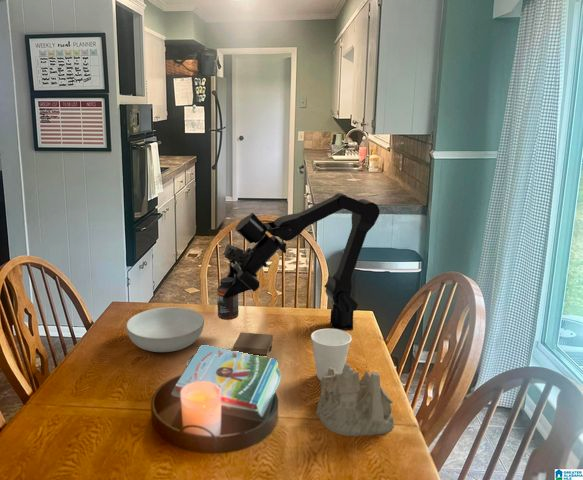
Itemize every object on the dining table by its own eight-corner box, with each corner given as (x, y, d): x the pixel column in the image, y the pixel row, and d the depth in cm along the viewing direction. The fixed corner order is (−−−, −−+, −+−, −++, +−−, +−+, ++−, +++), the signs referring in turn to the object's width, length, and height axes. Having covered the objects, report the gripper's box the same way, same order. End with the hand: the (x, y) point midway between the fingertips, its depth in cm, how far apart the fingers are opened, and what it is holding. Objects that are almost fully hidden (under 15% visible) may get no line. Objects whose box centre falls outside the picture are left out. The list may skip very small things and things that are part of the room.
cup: (354, 373, 131) (357, 333, 129) (341, 392, 123) (343, 349, 120) (318, 364, 135) (319, 325, 133) (302, 382, 127) (304, 340, 124)
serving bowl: (111, 352, 139) (109, 328, 138) (158, 323, 158) (157, 302, 157) (176, 368, 132) (175, 343, 130) (218, 336, 151) (218, 314, 149)
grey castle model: (398, 436, 106) (400, 367, 103) (318, 438, 106) (317, 368, 103) (385, 399, 121) (386, 338, 119) (314, 400, 121) (314, 339, 119)
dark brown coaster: (272, 348, 144) (272, 334, 143) (266, 363, 135) (267, 349, 134) (240, 345, 145) (240, 332, 144) (233, 360, 136) (232, 346, 135)
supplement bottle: (239, 312, 152) (239, 276, 149) (237, 321, 146) (236, 283, 143) (219, 312, 152) (218, 275, 149) (216, 320, 146) (215, 282, 144)
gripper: (235, 227, 153) (198, 266, 153) (247, 243, 136) (205, 287, 135) (261, 251, 157) (225, 289, 157) (276, 270, 140) (236, 312, 140)
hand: (222, 293), depth 147 cm, fingers closed on supplement bottle, 6 cm apart
